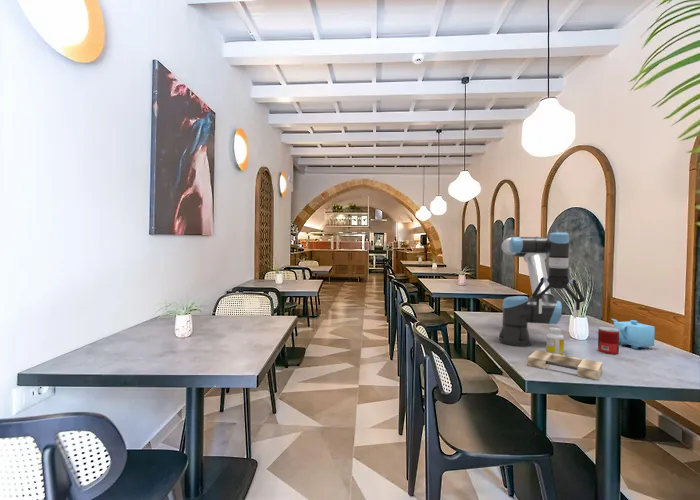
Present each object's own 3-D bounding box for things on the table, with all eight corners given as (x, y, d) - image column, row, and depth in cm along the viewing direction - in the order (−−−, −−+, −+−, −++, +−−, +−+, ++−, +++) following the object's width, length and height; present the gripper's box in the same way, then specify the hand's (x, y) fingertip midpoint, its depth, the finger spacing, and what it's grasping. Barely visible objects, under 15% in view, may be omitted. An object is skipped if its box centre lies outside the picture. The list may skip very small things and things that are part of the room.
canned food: (622, 355, 165) (622, 331, 165) (602, 353, 167) (603, 330, 167) (613, 350, 173) (614, 327, 173) (594, 349, 174) (595, 326, 174)
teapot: (658, 348, 177) (658, 322, 176) (633, 350, 173) (634, 323, 173) (622, 339, 194) (622, 315, 194) (599, 340, 190) (599, 316, 190)
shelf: (527, 365, 149) (527, 356, 149) (535, 358, 159) (536, 350, 159) (597, 380, 134) (598, 370, 134) (602, 371, 143) (602, 362, 143)
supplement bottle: (561, 356, 163) (562, 327, 162) (565, 360, 156) (565, 330, 156) (544, 354, 165) (545, 326, 164) (547, 358, 158) (548, 329, 158)
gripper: (525, 266, 165) (524, 312, 165) (591, 269, 149) (589, 320, 150) (529, 265, 171) (528, 310, 171) (593, 268, 155) (591, 317, 155)
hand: (557, 315), depth 160 cm, fingers open, 13 cm apart
